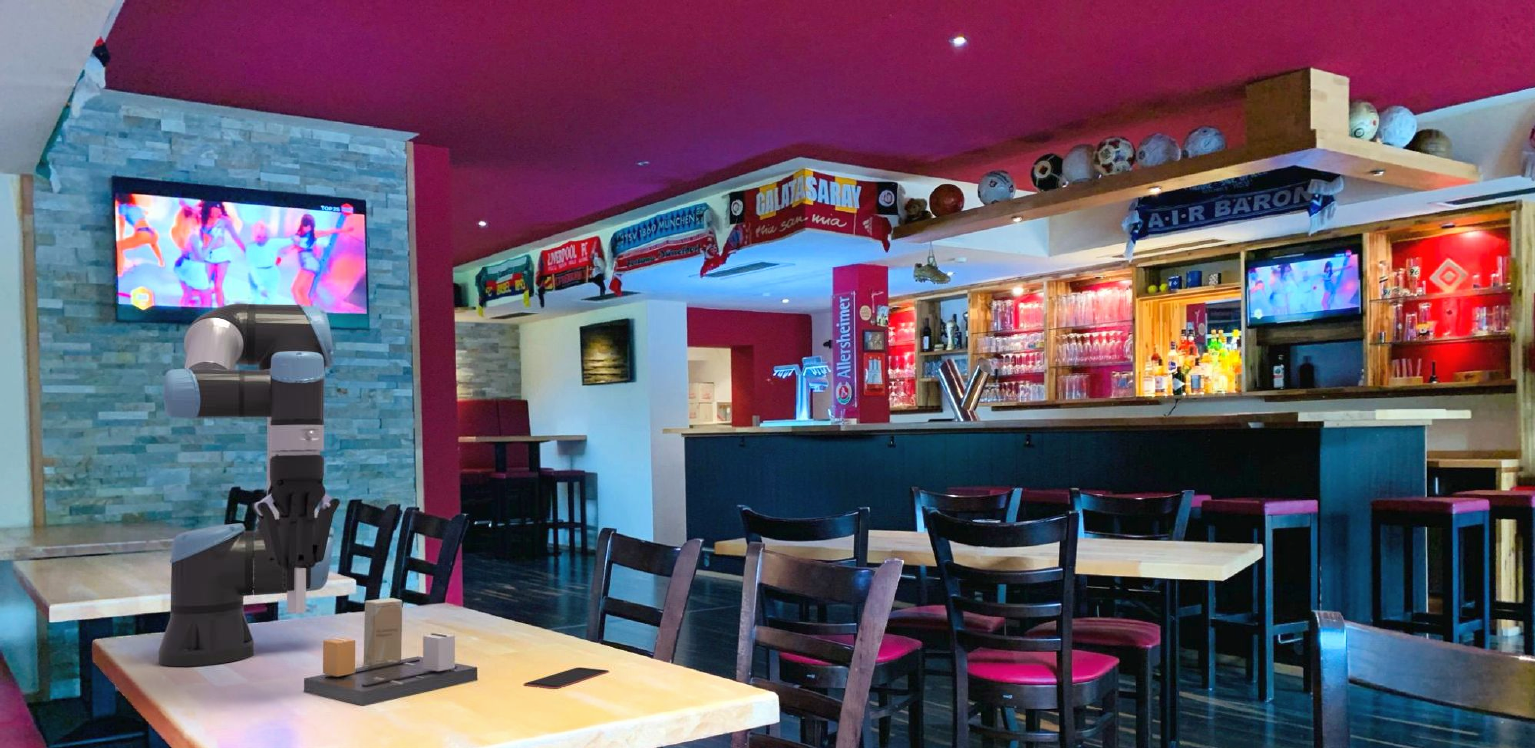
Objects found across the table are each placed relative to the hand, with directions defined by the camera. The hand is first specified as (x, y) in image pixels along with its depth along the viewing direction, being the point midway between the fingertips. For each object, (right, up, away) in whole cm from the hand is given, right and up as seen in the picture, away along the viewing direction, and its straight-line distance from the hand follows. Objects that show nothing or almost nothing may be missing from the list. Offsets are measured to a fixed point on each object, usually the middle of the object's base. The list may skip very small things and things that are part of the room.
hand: (296, 612), depth 164 cm
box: (+5, -14, +22) cm, 27 cm away
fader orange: (+4, -11, +5) cm, 12 cm away
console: (+12, -13, +7) cm, 19 cm away
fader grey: (+19, -10, +8) cm, 23 cm away
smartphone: (+39, -13, +10) cm, 42 cm away
